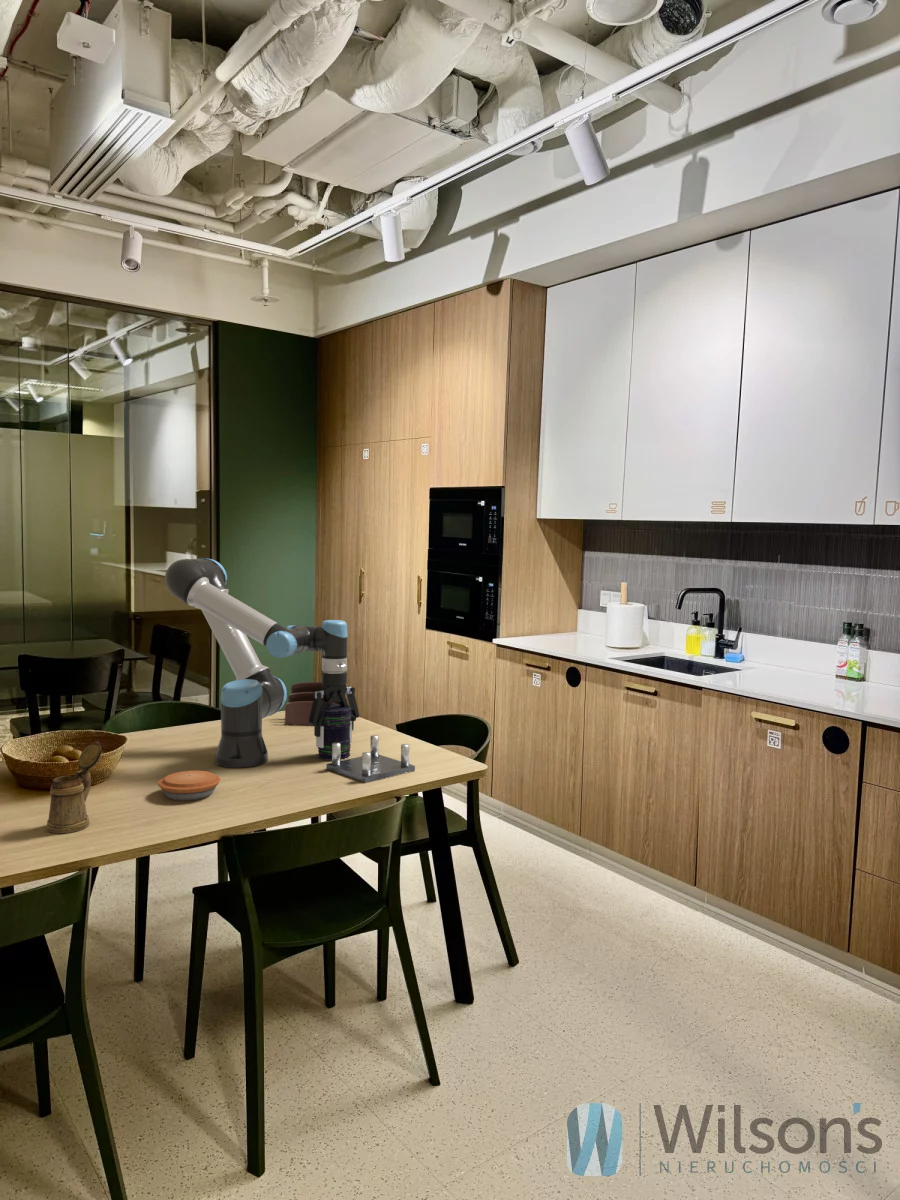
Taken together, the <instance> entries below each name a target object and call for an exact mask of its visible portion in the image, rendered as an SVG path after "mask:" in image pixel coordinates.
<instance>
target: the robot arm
mask: <svg viewBox="0 0 900 1200" xmlns="http://www.w3.org/2000/svg"><path fill="white" fill-rule="evenodd" d="M227 581H228V574H227V571H226V570H225V568H224V566H223V565H222V564H221V563H220V562H219V561H217V560H215V559H212V558H208V557H199V558H198V557H197V558H183V559H182V558H181V559H179V560H176V561H173V563H171V564H170V565H169V566H168V567H167V569H166V572H165V574H164V583H165V586H166V589H167V591H169V593H170V594H171V595H172V596H174V598H176V599H178V600H179V601H181V602H183V603H185V604H187V605H188V606H191V607H193V608H196V609H199V610H201V612H202V614H203V616H204V618H205V619H206V621H207V623H208V625H209V627H210V629H211V632H212V634H213V635H214V637H215V639H216V641H217V643H218V645H219V647H220V648H221V650H222V653H223V655H224V657H225V658H226V660H227V662H228V664H229V666H230V668H231V670H232V672H233V673H234V676H235V678H236V679H235V680H232V681H229V682H227V683H226V684H224V685H223V686H222V688H221V692H220V693H221V694H220V730H221V733H220V739H219V742H218V745H217V749H216V751H215V755H214V759H215V761H214V762H215V764H216V765H217V766H220V767H224V768H236V769H237V768H250V767H256V766H260V765H263V764H266V763H267V762H268V760H269V752H268V749H267V746H266V743H265V740H264V737H263V728H262V727H263V719H265V718H267V717H270V716H272V715H274V714H276V713H278V712H279V711H280V710H281V709H282V708H283V707H285V705H286V700H287V699H288V698H287V697H288V695H287V694H288V692H287V687H286V685H285V683H284V682H283V680H281V679H280V678H279V677H277V676H274V674H273V673H272V670H271V669H270V668H269V666H266V665H263V664H262V662H261V661H260V659H259V656H258V655H257V652H256V651H255V649H254V647H253V645H252V644H251V641H250V640H249V638H251V639H252V640H254V641H256V642H258V643H260V644H261V645H263V646H264V647H266V649H267V651H268V652H269V655H271V656H272V657H274V658H278V659H281V658H287V657H291V656H293V655H296V654H299V653H301V652H321V670H322V671H323V672H322V673H321V682H322V684H323V689H322V691H319V692H317V691H314V693H313V695H314V700H313V704H312V709H311V713H310V717H309V722H308V723H309V724H312V725H311V726H313V725H314V726H313V727H314V732H313V733H314V737H315V738H316V740H315V746H316V747H317V748H318V747H320V748H324V726H321V725H322V722H323V720H324V715H325V713H324V711H320V709H321V710H325V711H327V710H328V709H329V707H330V706H331V704H332V703H335V702H339V703H340V706H342V707H350V716H351V720H350V723H351V724H350V734H349V737H350V743H352V741H353V732H354V730H355V728H354V726H355V725H354V724H355V723H354V722H356V721H357V719H358V718H360V712H359V708H358V704H357V698H356V696H355V693H356V692H355V691H356V688H355V687H353V686H347V683H348V673H347V670H348V624H347V622H346V621H344V620H343V619H342V620H341V619H327V620H323V621H322V623H321V626H314V625H313V626H311V625H309V626H308V625H300V624H294V625H287V626H286V627H285V626H283V625H282V624H279V623H278V622H276V621H275V620H273V619H271V618H269V616H266V615H265V614H263V613H261V612H259V611H258V610H257V609H254V608H253V607H251V606H250V605H247V604H245V603H244V602H242V601H241V600H239V599H237V598H235V597H234V596H232V595H230V594H229V591H230V590H229V588H228V586H227ZM248 637H249V638H248ZM323 696H324V698H323ZM322 698H323V700H322ZM321 701H322V705H321ZM326 701H328V702H326ZM320 706H321V707H320Z"/></svg>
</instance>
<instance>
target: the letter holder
mask: <svg viewBox="0 0 900 1200" xmlns="http://www.w3.org/2000/svg"><path fill="white" fill-rule="evenodd" d="M322 689H323V684H322V681H320V682H319V681H305V682H303V681H302V682H296V683H292V684H291V688H290V690H291V693H290V694H288V695H287V697H288V698H287V700H288V701H287V703H285V704H284V714H285V715H284V725H285V724H297V725H296V726H313V725H312V724H309V723H308V722H309V717H310V713H311V709H312V704H313V700H314V695H313V693H314V691H317V692H319V691H322ZM323 698H324V696H323ZM323 698H322V700H323ZM326 702H328V701H326ZM321 705H322V701H321ZM331 705H340V703H339V702H335V703H332V704H331Z"/></svg>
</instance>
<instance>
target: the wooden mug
mask: <svg viewBox="0 0 900 1200" xmlns="http://www.w3.org/2000/svg"><path fill="white" fill-rule="evenodd" d="M102 751H103V749H102V745H101V743H100V741H98V740H97V741H95V742H92V743H91V744H89V745H88V746H85V748H83V750H82V751H81V753H80V755H79V757H78V771H76V772H75V773H74V775H63V776H58V777H55V778H53V779H52V784H51V786H50V792H49V794H50V796H51V797H50V804H49V805H50V806H49V813H48V819H47V821H46V826H45V830H46V831H47V832H48V833H49V832H50V833H52V834H69V833H75V832H79V831H82V830H85V829H86V828H88V826H89V825H90V818H89V815H88V814H87V808H86V807H87V806H86V802H87V799H88V796H89V793H90V791H91V786H92V776H91V773H90V770H91V769H93V767H95V766H96V764H97V763H98V762H99V760H100V758H101V756H102Z"/></svg>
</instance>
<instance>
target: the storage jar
mask: <svg viewBox="0 0 900 1200" xmlns="http://www.w3.org/2000/svg"><path fill="white" fill-rule="evenodd" d="M320 707H321V706H320ZM320 711H324V713H325V715H324V720H323V722H322V725H321V726H324V748H320V747H317V751H318V752H317V753H318V755H317V757H318V759H320V758H321V759H320V760H323V759H324V761H332V743H341V758H340V759H343V760H346V759H345V758H347V759H349V758H350V757H351V753H350V752H351V747H352V746H351V745H352V744H351V742H350V737H349V734H350V724H351V723H350V720H351V716H350V707H342V706H340V705H331V706H330V707H329V709H328V710H327V711H325V710H321V709H320ZM349 756H350V757H349ZM348 757H349V758H348Z"/></svg>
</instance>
